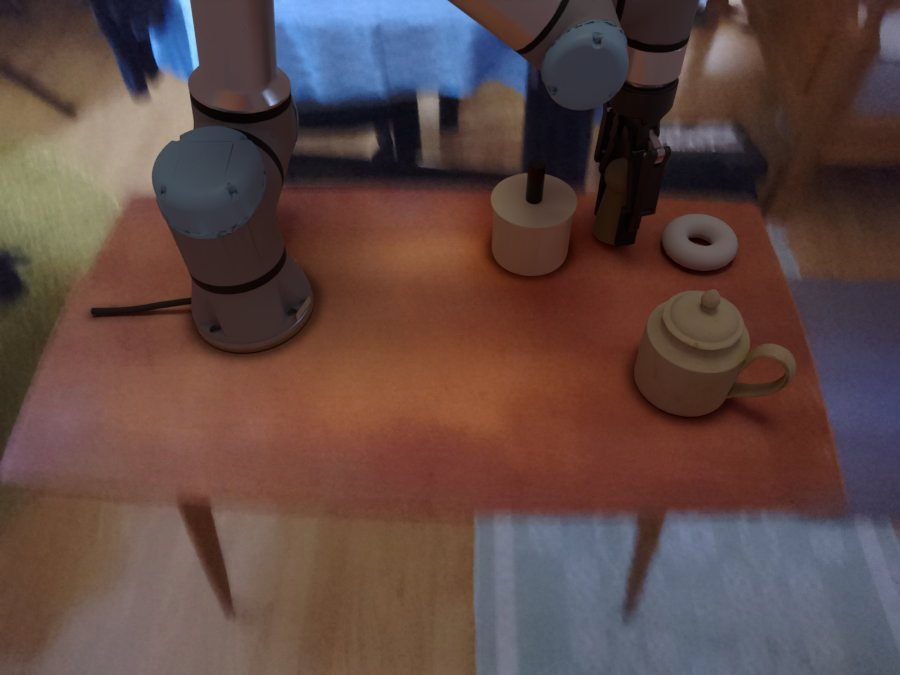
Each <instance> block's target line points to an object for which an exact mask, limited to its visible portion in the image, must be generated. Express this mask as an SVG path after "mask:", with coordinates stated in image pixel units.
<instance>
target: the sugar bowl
mask: <svg viewBox="0 0 900 675" xmlns="http://www.w3.org/2000/svg"><path fill="white" fill-rule="evenodd" d="M750 349H751V336H750V334H749V331H748V328H747V326H746V325H745V321H744V318H743V316H742V314H741V313H740V310H739V309H738V308H737V307H736V306H735V304H733V303H732V302H731V301H729V300H727V299H726V298H724V297H722V296H721V295H720V292H719V290H716V289H714V288H711V289H707V290H706V291H704V290H684V291H682V292H678V293H676V294H674V295H672V296H671V297H670V298H668V300H666V301H664V302H661V303H659V304H658V305H657V306H656V307H655V308H654V309H653V310H652V311H651V312H650V314H649V316H648V318H647V321H646V324H645V327H644V330H643V332H642V336H641V340H640V342H639V346H638V351H637V355H636V359H635V363H634V367H633V378H634V382H635V385H636V388H637V389H638V391H639V393H640V394H641V395H642V396H643V398H645V399H646V401H648V402H649V403H650V404H651V405H653V406H654V407H656V408H657V409H659V410H660V411H664V412H665V413H668V414H671V415H675V416H678V417H679V416H680V417H687V418H689V417H693V418H694V417H700V416H705V415H708V414H710V413H712V412H714V411H716V410H717V409H719V408H720V407H721V406H722V405H723V404H724V402H725V401H726V399H732V398H763V397H768V396H773V395H775V394H777V393H779V392H782V391H783V390H784V389H785V388H787V387H788V386H789V385H790V384H791V382H793V379H794V378H795V375H796V372H797V362H796V360H795V359H796V358H795V356H794V355H793V354H792V352H791V351H790V350H789V349H788V348H786V347H784V346H782V345H780V344H778V343H763V344H759V345H758V346H756V347H754V348H753V349H751V350H750ZM762 358H765V359H766V358H767V359H772V360H774V361H776V362H777V363H779V365H781V366H782V368H783V370H784V374H783V375H782V376H781V377H779V378H777V379H776V380H771V381H769V382H763V383H762V382H761V383H746V382H736V380H737V378H738V377H739V376H740V374H741V373H742V372H743V371H745V370H746V369H747V368H748V367H749V366H751V364H753V363H754V362H755V361H756V360H758V359H762Z"/></svg>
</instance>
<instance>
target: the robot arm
mask: <svg viewBox="0 0 900 675" xmlns="http://www.w3.org/2000/svg"><path fill="white" fill-rule="evenodd" d="M447 1H448V2H449V3H450V4H451V5H452V6H454V7H455V8H457V9H458V10H460V12H462V13H463V14H465V15H466V16H467V17H469V18H470V19H472V20H473V21H474V22H475V23H477V24H478V25H479V26H481V27H482V28H483V29H484V30H486V31H487V32H489V34H491V35H493V36H494V37H495V38H497V39H498V40H499V41H500V42H502V43H503V44H504V45H506V46H507V47H509V48H510V49H511V50H513V51H514V52H515V53H516V54H518V55H519V56H520V57H522V58H523V59H524V60H525V61H527V63H529V64H530V65H532V66H533V67H534V68H535V69H537V70H538V71H540V79H541V82H542V84H543V85H544V86H545V90H546V91H547V93H548V95H549V96H550V98H551V99H552V100H553V101H554V102H555V103H556V104H558V105H559V106H560V107H563V108H565V109H568V110H573V111H587V110H593V109H596V108H598V107H601V106H602V113H601V119H600V123H599V130H598V134H597V138H596V144H595V148H594V149H595V150H594V152H593V160H594V162H595V163H598V164H599V165H598V173H599V175H600V176H599V182H598V187H597V188H598V189H597V194H596V199H595V205H594V211H593V215H594V217H596V214H597V211H598V208H599V206H600V203H601V200H602V197H603V194H604V192H605V189H606V186H607V185H606V183H605V178H604V177H605V170H606V168H607V166H608V165H609V164H610V163H611V162H612V161H613V160H615V159H618V158H625V159H626V160H628V169H627V196H626V206H623V207H622V208H621V213H620V218H619V222H618V227H617V232H616V236H615V241H614V245H613V246H614V247H615V248H616V249H617V248H621V247H626V246H630V245H635V242H636V239H637V235H638V231H639V230H640V227H641V223H642V219H643V217H648V216H652V215H655V214H656V211H657V210H656V209H657V206H658V201H659V196H660V192H661V188H662V183H663V179H664V173H665V170H666V165H667V163H668V160H669V159H670V157H671V155H672V149H671V147H670V146H669V145H666V146H663V145H662V143H661V141H660V139H659V138H660V135H661V121H662V119H663V118H664V117H665V116H666V115H668V113H669V112H671V110H672V108H673V107H674V103H675V100H676V95H677V92H678V87H679V84H680V83H679V82H680V79H679V77H680V76H681V74H682V69H683V65H684V60H685V56H686V53H687V48H688V45H689V41H690V38H691V32H692V29H693V25H694V21H695V18H696V14H697V11H698V7H699V3H700V0H447ZM189 3H190V9H191V17H192V24H193V32H194V39H195V46H196V53H197V59H198V66H196V68H194V69H193V70H192V71H191V72H190V74H189V76H188V79H187V87H188V93H189V100H190V105H191V106H190V107H191V112H192V119H193V120H192V121H193V128H192V129H191V130H188V131H185V132H183V133H181V134H180V135H179V140H170V141H169V142H168V143H167V144H166V145H165V146H164V147H163V148H161V151H159V153H158V154H157V156H156V158H155V160H154V163H153V166H152V170H151V184H152V188H153V191H154V194H155V199H156V204H157V207H158V210H159V212H160V214H161V216H162V218H163V219H164V220H165V222H166V224H167V227H168V229H169V231H170V234H171V236H172V238H173V240H174V242H175V245H176V247H177V249H178V251H179V253H180V255H181V258H182V260H183V263H184V264H185V267H186V269H187V271H188V273H189V275H190V278H191V290H190V291H191V294H190V295H191V296H190V297H184V298H177V299H176V298H175V299H170V300H169V299H168V300H162V301H156V302H149V303H144V304H137V305H131V306H119V307H117V306H116V307H92V308H91V309H90V314H91V315H92V316H96V315H97V316H99V315H101V316H102V315H104V316H105V315H125V314H126V315H127V314H134V313H135V314H136V313H142V312H148V311H153V310H161V309H167V308H175V307H181V306H188V305H190V310H191V317H192V320H193V323H194V325H195V327H196V329H197V331H198V333H199V334H200V336H201V337H202V339H203V340H205V341H206V343H208V344H210V345H211V346H213V347H215V348H216V349H220V350H222V351H226V352H230V353H231V352H232V353H240V354H242V353H244V354H245V353H255V352H261V351H264V350H268V349H271V348H275V347H276V346H279V345H280V344H283V343H285V342H286V341H288V340H289V339H291V338H292V337H294V336H295V335H296V334H297V333H298V332H299V331H301V330H302V328H303V327H304V326H305V325H306V323H308V320H309V319H310V317H311V315H312V312H313V309H314V302H315V301H314V300H315V299H314V293H313V288H312V285H311V282H310V279H309V278H308V276H307V275H306V273H305V272H304V271H303V269H302V268H301V267H300V265H299V264H298V263H297V262H296V260H295V259H294V258H293V257H292V255H291V254H290V253H289V251H288V250H287V249H286V245H285V241H284V238H283V233H282V229H281V227H280V223H279V219H278V205H279V201H280V197H281V194H282V190H283V187H284V186H283V185H284V182H285V179H286V175H287V172H288V168H289V165H290V163H291V162H290V161H291V158H292V154H293V152H294V150H295V147H296V143H297V141H298V137H299V131H300V123H299V122H300V120H299V111H298V107H297V104H296V101H295V98H294V97H293V95H292V83H291V80H290V77H289V76H288V75H287V73H285V71H284V70H282V69H281V68H280V67H279V66H278V59H277V58H278V57H277V56H278V54H277V37H276V19H275V18H276V17H275V14H276V13H275V0H189Z"/></svg>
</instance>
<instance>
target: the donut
mask: <svg viewBox="0 0 900 675" xmlns="http://www.w3.org/2000/svg"><path fill="white" fill-rule="evenodd" d="M694 238H695V239H701V240H704V241H706V242H707V243H709V245H700V244H698V243H694V242H692V241H691V240H690V239H694ZM661 241H662V247H663V249H664V251H665V254H666V255H667V256H668V257H669V258H670V259H671V261H673V262H674V263H676V264H678V265H679V266H682V267H683V268H686V269H689V270H692V271H700V272H706V271H707V272H708V271H715V270H716V271H717V270H719V269H721V268H723V267H725V266H727V265H729V263H731V261H733V260H734V259H735V257H736V254H737V253H738V249H739V243H738V237H737V235H736V233H735V232H734V229H733V228H731V227H730V225H729V224H727V223H726V222H725V221H723V220H721V219H719V218H718V217H715V216H712V215H709V214H704V213H687V214H682V215H680V216H677V217H675V218H674V219H673V220H671V221H670V222H669V223H668V224H666V226H665V228H664V230H663V231H662V234H661Z"/></svg>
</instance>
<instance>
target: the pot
mask: <svg viewBox="0 0 900 675" xmlns="http://www.w3.org/2000/svg"><path fill="white" fill-rule="evenodd" d="M573 217H574V215H573V216H572V218H571V219H569V220H568V221H567V222H566V223H564V224H562V225H560V226H558V227H555V228H552V229H547V230H525V229H520V228H517V227H514V226H511V225H509V224H507V223H505V222H504V221H502V220H501V219H500V218H499V217H498V216H497V215H496V214H495V213H494V211H493V210H492V230H491V232H492V233H491V252H492V256H493V258H494V260H495V261H496V263H497V264H498V265H499V266H500V267H501V268H503V269H504V270H506V271H508V272H510V273H513V274H515V275H518V276H519V275H520V276H525V277H536V276H537V277H539V276H543V275H547V274H550V273H552V272H554V271H556V270H558V269H559V268H560V267H561V266H562V265H563V263H565V260H566V258H567V256H568V251H569V243H570V238H571V231H572V224H573V219H574V218H573Z"/></svg>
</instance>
